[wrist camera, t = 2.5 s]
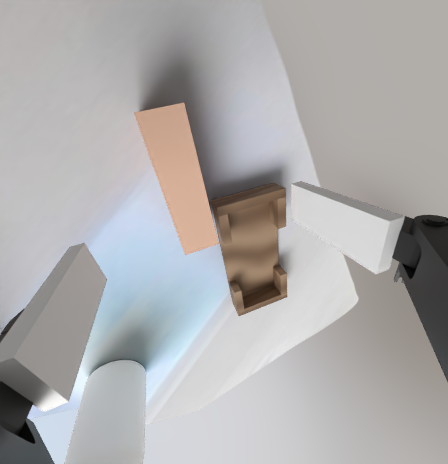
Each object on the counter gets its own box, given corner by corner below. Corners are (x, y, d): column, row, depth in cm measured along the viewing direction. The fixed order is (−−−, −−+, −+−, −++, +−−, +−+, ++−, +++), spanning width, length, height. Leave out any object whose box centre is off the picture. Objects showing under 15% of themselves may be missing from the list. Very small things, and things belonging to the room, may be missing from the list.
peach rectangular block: (138, 116, 21) (133, 112, 16) (176, 108, 21) (184, 102, 16) (179, 231, 28) (185, 255, 23) (206, 222, 28) (218, 243, 23)
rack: (210, 200, 27) (216, 208, 24) (273, 182, 28) (285, 188, 26) (232, 303, 37) (238, 316, 34) (278, 285, 39) (287, 297, 36)
